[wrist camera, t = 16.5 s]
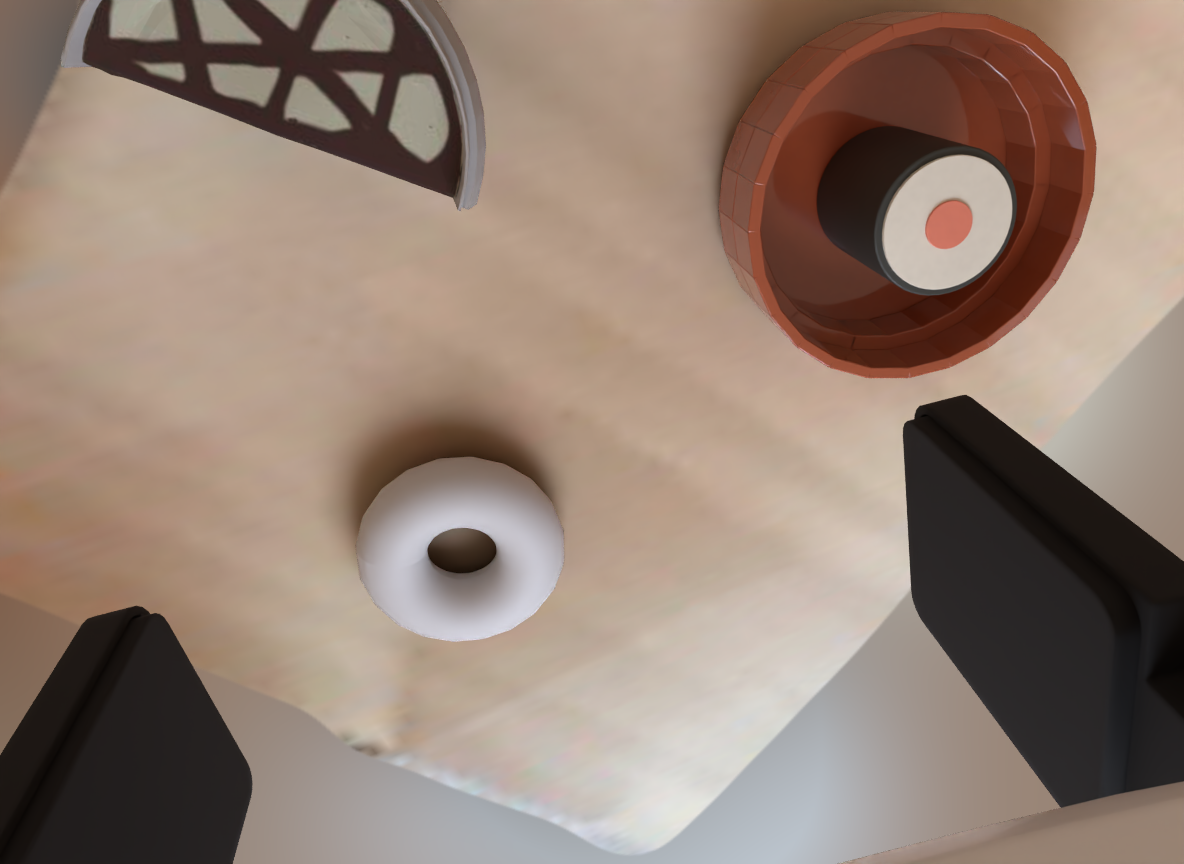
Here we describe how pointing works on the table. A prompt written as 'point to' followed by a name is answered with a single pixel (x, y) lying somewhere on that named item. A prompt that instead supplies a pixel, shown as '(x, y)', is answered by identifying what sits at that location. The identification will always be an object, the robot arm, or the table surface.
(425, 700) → the table surface
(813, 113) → the bowl
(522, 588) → the donut
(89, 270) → the table surface
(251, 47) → the food container
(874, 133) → the sushi roll
